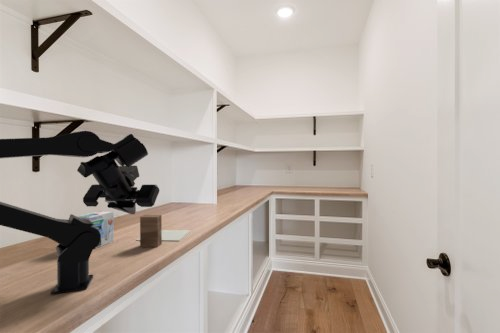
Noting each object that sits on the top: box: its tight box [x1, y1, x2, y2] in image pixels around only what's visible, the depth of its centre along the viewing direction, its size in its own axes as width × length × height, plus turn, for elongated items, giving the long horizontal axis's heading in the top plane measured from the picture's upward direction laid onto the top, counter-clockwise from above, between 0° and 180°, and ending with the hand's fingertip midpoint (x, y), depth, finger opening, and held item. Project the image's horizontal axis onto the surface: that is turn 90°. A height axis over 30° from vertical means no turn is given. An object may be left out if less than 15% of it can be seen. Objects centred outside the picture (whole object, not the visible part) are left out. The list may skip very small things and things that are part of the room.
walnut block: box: [139, 214, 163, 248], centre depth 83 cm, size 3×6×10 cm, turn 87°
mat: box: [135, 229, 192, 242], centre depth 95 cm, size 14×16×1 cm
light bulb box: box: [75, 210, 115, 250], centre depth 84 cm, size 11×7×11 cm, turn 168°
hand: (133, 213), depth 72 cm, fingers closed
